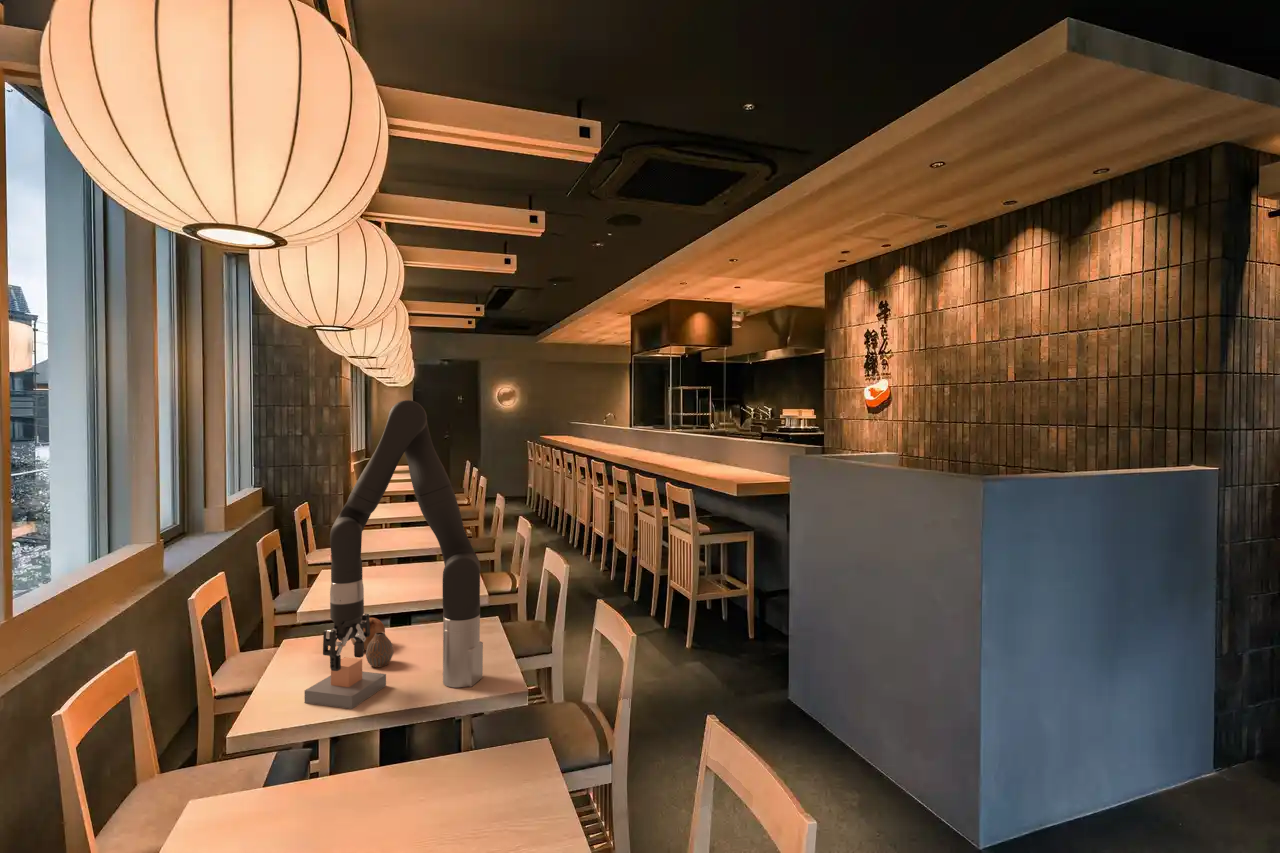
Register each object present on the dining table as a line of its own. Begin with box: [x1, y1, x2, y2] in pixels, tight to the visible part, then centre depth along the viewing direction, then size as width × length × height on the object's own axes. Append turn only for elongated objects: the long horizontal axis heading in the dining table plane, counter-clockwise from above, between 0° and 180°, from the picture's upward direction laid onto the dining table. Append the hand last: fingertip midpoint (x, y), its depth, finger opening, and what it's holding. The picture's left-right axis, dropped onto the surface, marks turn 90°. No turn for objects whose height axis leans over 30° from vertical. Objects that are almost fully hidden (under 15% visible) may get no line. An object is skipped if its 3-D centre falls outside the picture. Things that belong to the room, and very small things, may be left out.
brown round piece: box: [350, 617, 386, 651], centre depth 184 cm, size 10×9×10 cm
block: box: [330, 656, 363, 687], centre depth 153 cm, size 5×5×5 cm
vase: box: [365, 632, 394, 668], centre depth 171 cm, size 7×7×9 cm
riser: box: [304, 670, 387, 710], centre depth 153 cm, size 13×13×3 cm
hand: (347, 663), depth 153 cm, fingers open, 8 cm apart
